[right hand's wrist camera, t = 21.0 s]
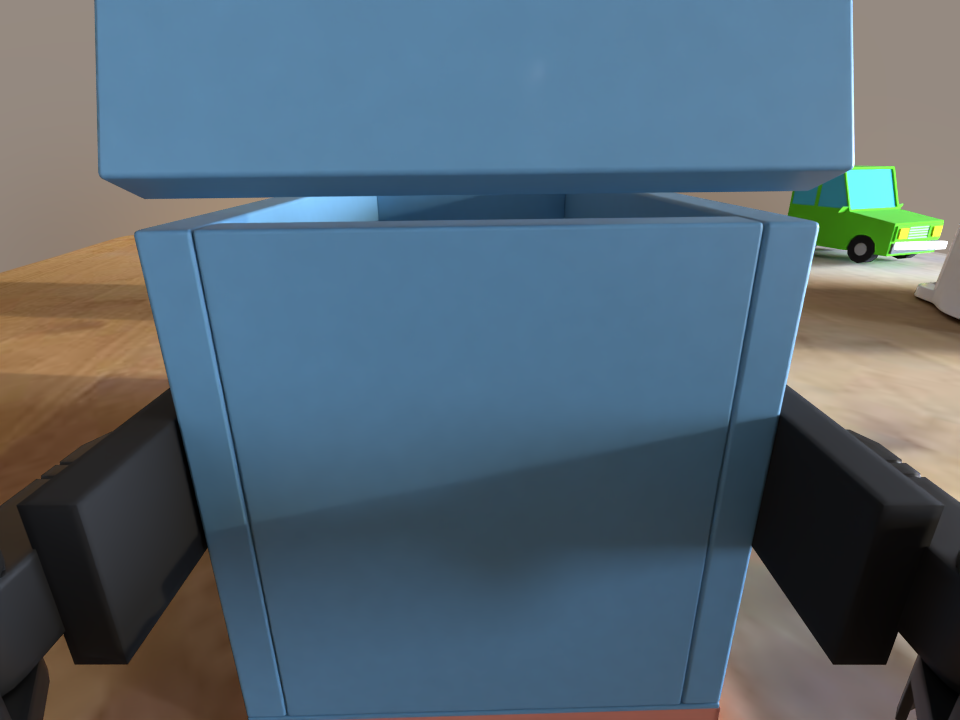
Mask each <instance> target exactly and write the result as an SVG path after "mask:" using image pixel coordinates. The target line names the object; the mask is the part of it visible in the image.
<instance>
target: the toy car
mask: <svg viewBox="0 0 960 720" xmlns="http://www.w3.org/2000/svg"><path fill="white" fill-rule="evenodd" d="M902 206H903V204H898V194H897V184H896V175H895V167H889V166H854V167H853V169H852V170H850V171H848V172H846V173H844V174H842V175H839V176H837V177H835V178H833V179H831V180H829V181H827V182H825V183H823V184H821V185H819V186H817V187H815V188H813V189H811V190H808V191H793V192H792V197H791V202H790V207H789V212H788V216H792V217H796V218H801V219H806V220H811V221H815V222H817V223H818V224H819V231H818V236H817V240H816V245H815V247H816V246H817V245H818V246H824V247H830V248H836V249H842V250H848V256H849V257H850V259H851V260H852V261H854V262H856V263H861V262H871V261H872V260H874V259H875V258H877V256H878V255H881V256H893V257H895V258H897V259H902V258H911V257H913V256H915V255H916V254H918V253H926V252H934V250H935V249H911V250H895V249H894V247H895V243H896V242H926V241H938V238H939V237H940V233H941V230H942V227H943V220H940V219H936V218H932V217H929V216H925V215H921V214H917V213H913V212H909V211H906V210H902V209H900V208H901V207H902Z"/></svg>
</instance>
